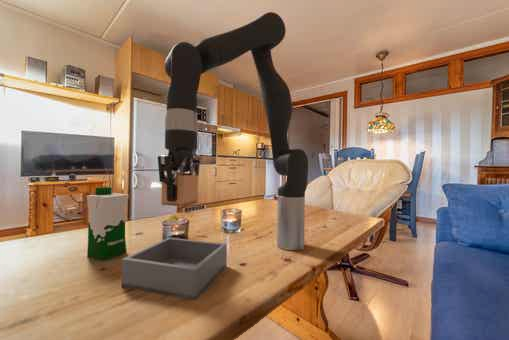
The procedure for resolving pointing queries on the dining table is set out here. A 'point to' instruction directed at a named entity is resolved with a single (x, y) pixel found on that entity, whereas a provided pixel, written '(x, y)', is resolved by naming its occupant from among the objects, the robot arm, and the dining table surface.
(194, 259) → the big crate
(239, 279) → the dining table surface
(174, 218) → the lemon
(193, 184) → the box
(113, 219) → the milk carton
